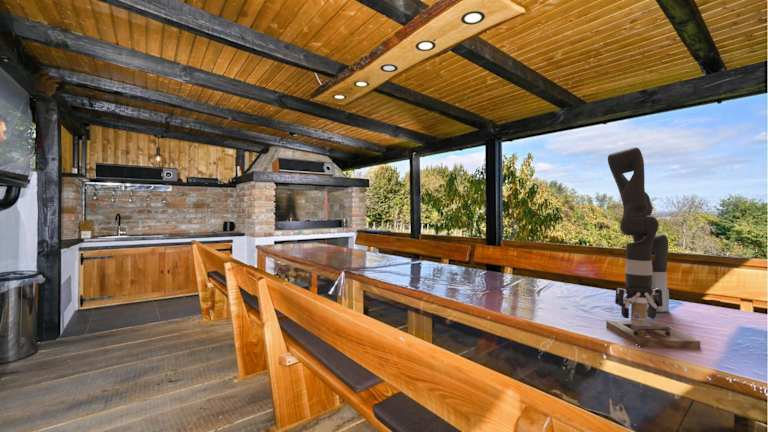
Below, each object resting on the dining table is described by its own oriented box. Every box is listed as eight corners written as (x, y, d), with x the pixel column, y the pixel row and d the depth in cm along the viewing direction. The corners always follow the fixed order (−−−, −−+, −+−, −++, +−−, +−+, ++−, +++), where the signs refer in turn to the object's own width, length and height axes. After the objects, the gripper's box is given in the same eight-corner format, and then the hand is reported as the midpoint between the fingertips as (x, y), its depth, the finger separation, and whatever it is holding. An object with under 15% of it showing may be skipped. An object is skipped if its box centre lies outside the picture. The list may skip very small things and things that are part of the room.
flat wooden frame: (657, 328, 121) (657, 321, 121) (700, 348, 103) (700, 341, 103) (606, 327, 122) (606, 320, 122) (640, 347, 104) (640, 339, 104)
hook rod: (668, 334, 109) (668, 326, 109) (671, 335, 107) (671, 327, 107) (632, 333, 110) (632, 325, 110) (635, 334, 108) (635, 326, 108)
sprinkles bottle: (630, 334, 115) (630, 296, 115) (631, 330, 118) (631, 294, 118) (646, 337, 112) (647, 298, 112) (647, 333, 115) (647, 296, 115)
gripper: (652, 270, 118) (652, 314, 118) (610, 270, 119) (610, 314, 119) (668, 274, 110) (668, 321, 111) (624, 274, 111) (624, 321, 112)
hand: (638, 317), depth 115 cm, fingers open, 8 cm apart
